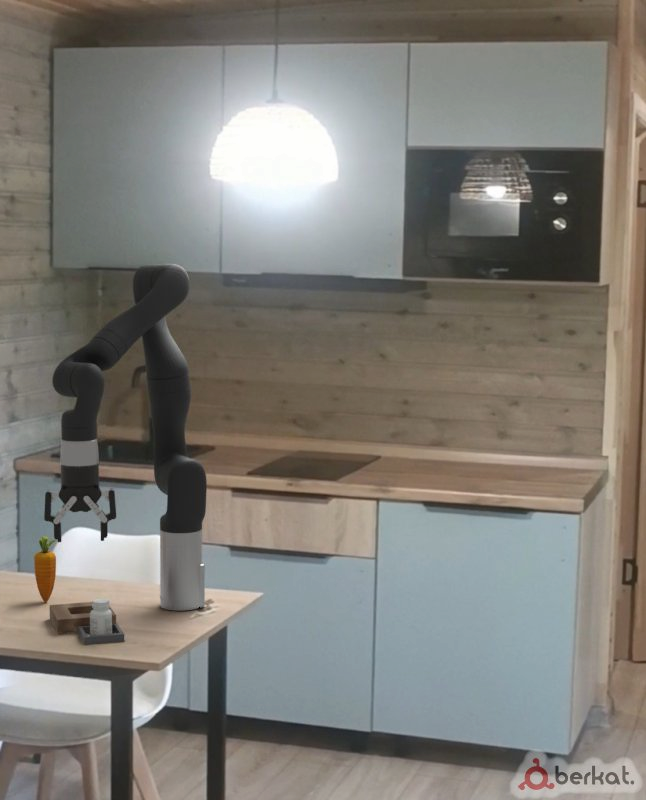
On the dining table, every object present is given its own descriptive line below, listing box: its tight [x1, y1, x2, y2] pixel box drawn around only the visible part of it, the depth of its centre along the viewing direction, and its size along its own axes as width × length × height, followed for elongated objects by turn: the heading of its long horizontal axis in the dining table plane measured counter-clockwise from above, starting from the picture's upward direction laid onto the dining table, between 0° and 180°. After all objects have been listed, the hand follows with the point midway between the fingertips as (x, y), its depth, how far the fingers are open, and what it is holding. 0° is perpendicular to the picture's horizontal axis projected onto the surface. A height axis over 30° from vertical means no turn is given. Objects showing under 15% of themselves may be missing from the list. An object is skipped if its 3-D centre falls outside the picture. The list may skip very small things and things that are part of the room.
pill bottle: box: [89, 597, 113, 636], centre depth 269 cm, size 4×4×8 cm
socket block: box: [49, 601, 117, 635], centre depth 279 cm, size 12×12×3 cm
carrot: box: [33, 535, 57, 603], centre depth 295 cm, size 5×5×15 cm
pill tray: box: [77, 623, 125, 646], centre depth 269 cm, size 8×8×2 cm
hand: (80, 540), depth 269 cm, fingers open, 8 cm apart
